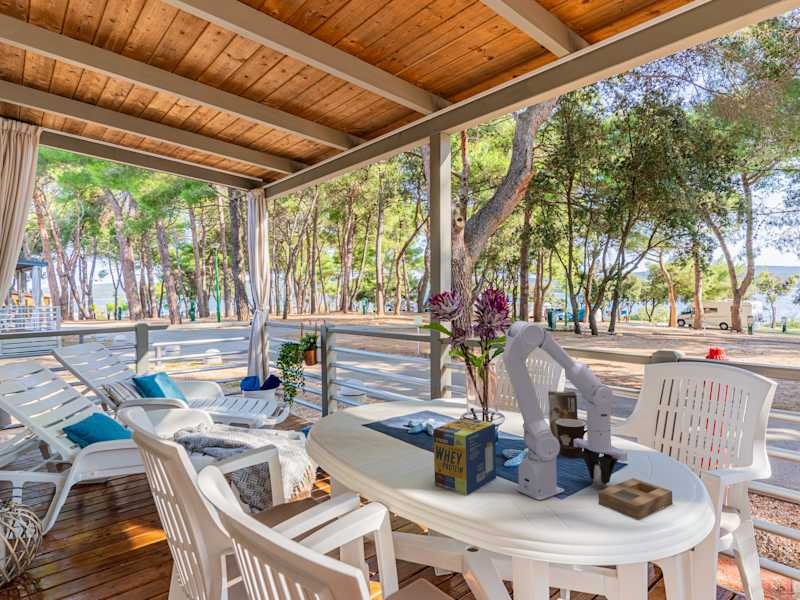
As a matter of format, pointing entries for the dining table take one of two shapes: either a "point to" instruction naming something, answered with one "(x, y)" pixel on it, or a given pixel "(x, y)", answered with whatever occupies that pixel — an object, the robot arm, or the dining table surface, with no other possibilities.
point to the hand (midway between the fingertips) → (599, 480)
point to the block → (635, 498)
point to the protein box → (464, 455)
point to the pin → (598, 476)
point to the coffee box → (561, 408)
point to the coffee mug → (570, 436)
